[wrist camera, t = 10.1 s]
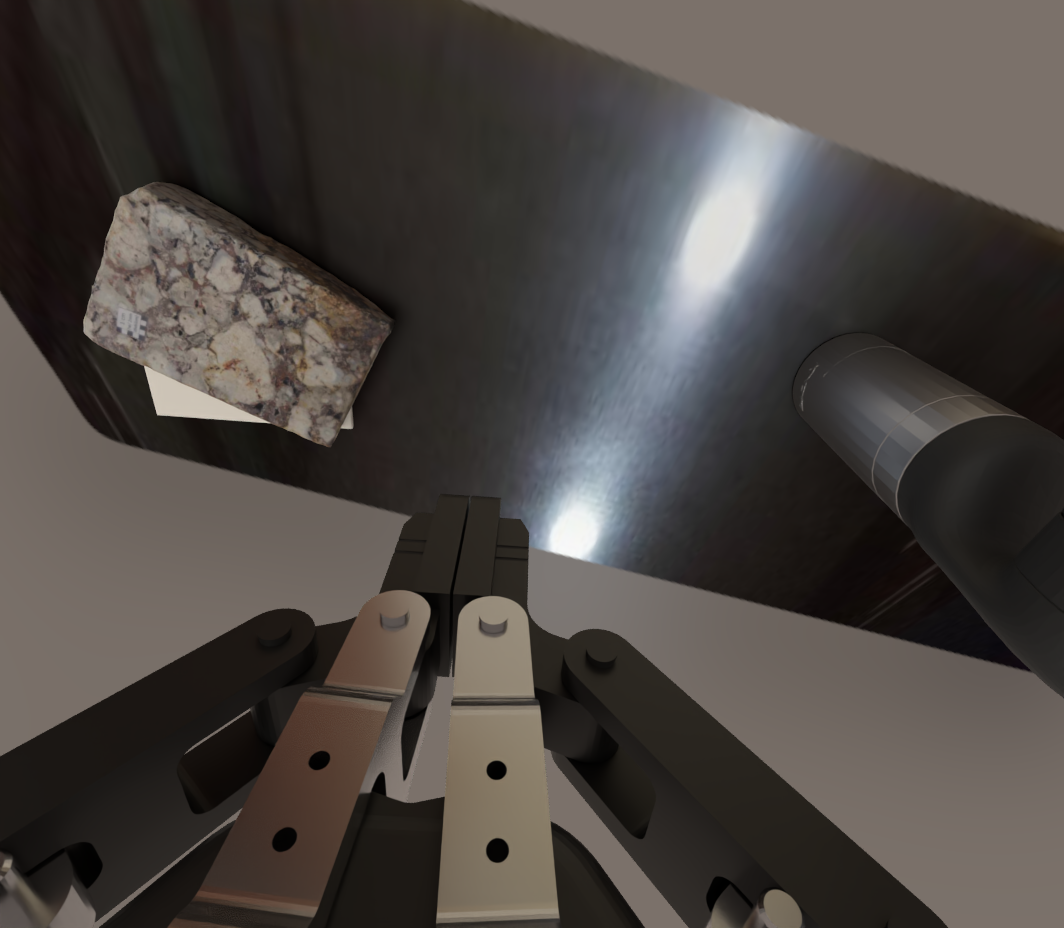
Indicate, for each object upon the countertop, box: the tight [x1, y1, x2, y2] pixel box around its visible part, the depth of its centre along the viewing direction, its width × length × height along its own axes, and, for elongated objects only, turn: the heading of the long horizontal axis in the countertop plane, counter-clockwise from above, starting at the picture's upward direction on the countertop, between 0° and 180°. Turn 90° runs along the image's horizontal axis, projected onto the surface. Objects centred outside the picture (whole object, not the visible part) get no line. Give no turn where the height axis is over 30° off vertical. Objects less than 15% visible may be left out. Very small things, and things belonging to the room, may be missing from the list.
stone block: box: [84, 182, 396, 447], centre depth 46 cm, size 13×7×20 cm
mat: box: [144, 366, 354, 429], centre depth 51 cm, size 18×11×1 cm, turn 86°
